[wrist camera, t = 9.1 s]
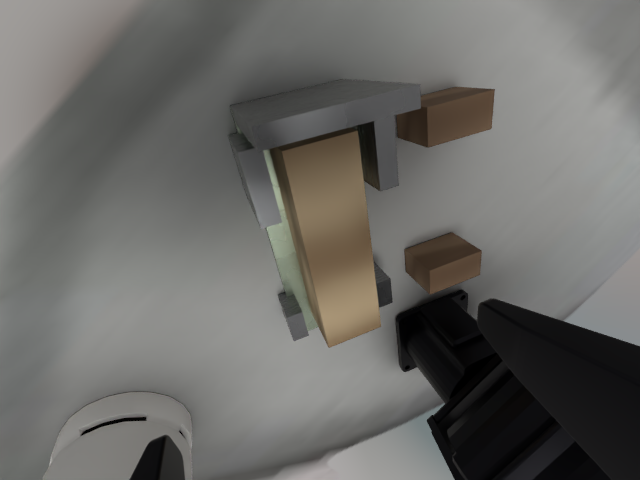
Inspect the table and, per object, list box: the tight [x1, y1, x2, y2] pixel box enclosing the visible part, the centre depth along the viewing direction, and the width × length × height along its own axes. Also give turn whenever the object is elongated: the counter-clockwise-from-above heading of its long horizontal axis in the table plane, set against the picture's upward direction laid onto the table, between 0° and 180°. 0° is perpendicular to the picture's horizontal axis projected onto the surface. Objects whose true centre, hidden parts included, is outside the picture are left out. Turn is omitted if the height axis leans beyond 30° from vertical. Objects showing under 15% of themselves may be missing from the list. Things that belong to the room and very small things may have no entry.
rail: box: [269, 128, 381, 348], centre depth 19 cm, size 12×4×4 cm, turn 10°
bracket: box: [228, 79, 421, 341], centre depth 18 cm, size 15×7×7 cm, turn 10°
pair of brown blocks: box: [397, 87, 495, 294], centre depth 21 cm, size 12×4×3 cm, turn 10°
